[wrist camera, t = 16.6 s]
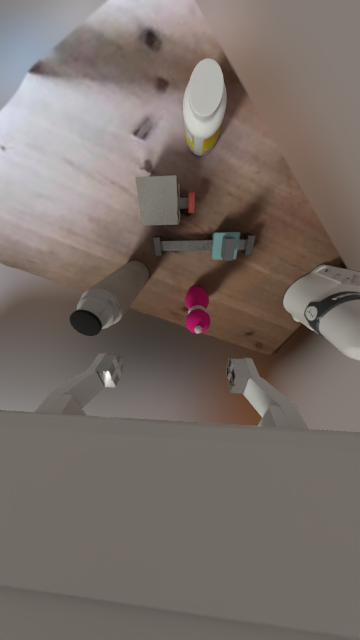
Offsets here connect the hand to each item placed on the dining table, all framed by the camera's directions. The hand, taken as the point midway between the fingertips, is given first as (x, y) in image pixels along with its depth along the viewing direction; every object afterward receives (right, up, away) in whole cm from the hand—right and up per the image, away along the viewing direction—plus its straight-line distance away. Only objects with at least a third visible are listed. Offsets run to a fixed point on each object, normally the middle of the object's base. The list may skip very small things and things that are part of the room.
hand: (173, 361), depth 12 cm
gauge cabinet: (-4, +32, +26) cm, 41 cm away
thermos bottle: (-13, +18, +37) cm, 43 cm away
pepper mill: (+6, +12, +39) cm, 41 cm away
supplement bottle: (+5, +41, +20) cm, 46 cm away
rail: (+7, +24, +31) cm, 39 cm away
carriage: (+12, +24, +30) cm, 40 cm away
